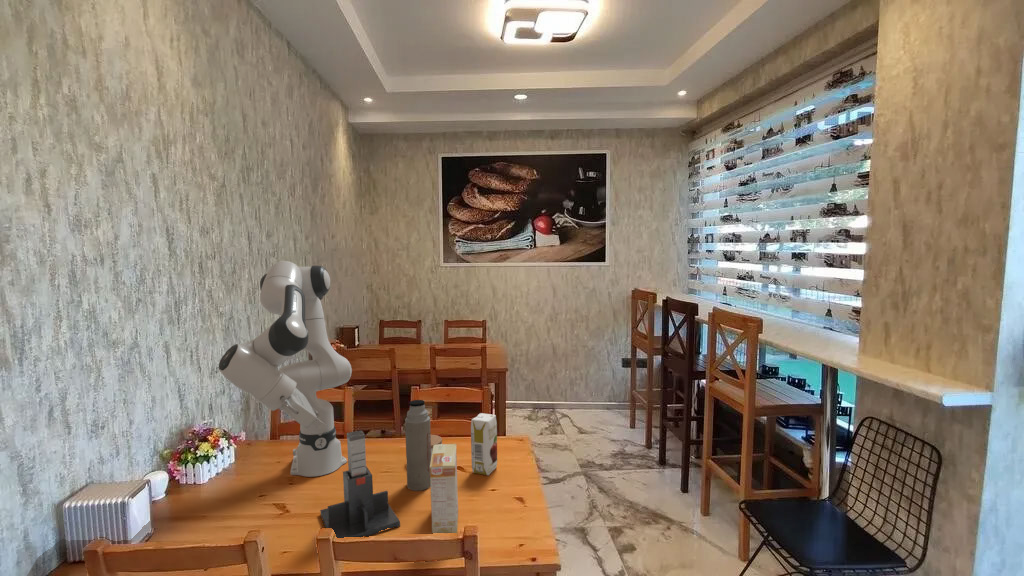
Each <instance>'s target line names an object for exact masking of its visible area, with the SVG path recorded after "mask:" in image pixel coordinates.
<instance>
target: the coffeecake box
mask: <svg viewBox="0 0 1024 576" xmlns="http://www.w3.org/2000/svg"><path fill="white" fill-rule="evenodd" d="M457 458H458V457H457V443H448V444H447V443H442V444H436V445H433V450H432V456H431V462H430V484H431V486H430V506H431V534H432V533H457V534H458V522H459V521H458V519H459V518H458V517H459V497H458V468H457V465H458V464H457V462H458V461H457Z"/></svg>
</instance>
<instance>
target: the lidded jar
mask: <svg viewBox="0 0 1024 576" xmlns="http://www.w3.org/2000/svg"><path fill="white" fill-rule="evenodd" d="M436 444H443V438H442V437H441V436H440V435H436V434H431V456H432V450H433V445H436Z"/></svg>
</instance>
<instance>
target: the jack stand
mask: <svg viewBox="0 0 1024 576" xmlns="http://www.w3.org/2000/svg"><path fill="white" fill-rule="evenodd" d="M342 481H343V500H344V501H342V502H338V503H334V504H331V505H328V506H327V508H323V509H320V510H319V512H320V516H321V517H320V518H321V520H322V519H323V520H322V522H323V521H324V523H323V525H324V524H325V525H324V527H326V528H332V529H333V530H334V532H335V534H336V537H337V538H344V537H363V536H367V537H370V536H373V535H376V533H377V534H379V533H378V532H379V531H381V530H385V529H387V528H393V527H396V528H398V526H399V527H400V526H401V520H400V519H399V518H398V516H397V514H396V513H395V512H394V510H393V509H392V507H391V505H390V504H389V492H388V490H383V491H379V492H376V493H374V487H373V474H372V472H370V469H369V468H368V466H367V465H366V475H365V476H361V477H357V478H353V479H350V477H349V469H348V470H344V471H342ZM326 528H325V529H326ZM393 529H394V528H393Z"/></svg>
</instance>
